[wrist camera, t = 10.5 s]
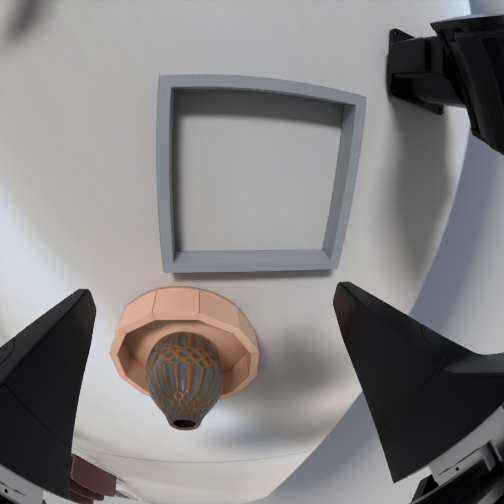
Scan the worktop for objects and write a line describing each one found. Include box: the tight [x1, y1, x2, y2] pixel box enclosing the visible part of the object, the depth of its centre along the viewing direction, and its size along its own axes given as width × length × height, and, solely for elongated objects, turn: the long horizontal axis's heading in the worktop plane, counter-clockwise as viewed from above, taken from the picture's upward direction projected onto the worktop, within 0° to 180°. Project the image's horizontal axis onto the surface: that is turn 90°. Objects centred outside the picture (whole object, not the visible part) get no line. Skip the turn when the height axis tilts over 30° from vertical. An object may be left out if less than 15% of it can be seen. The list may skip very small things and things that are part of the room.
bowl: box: [110, 286, 259, 400], centre depth 24 cm, size 13×13×3 cm
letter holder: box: [69, 454, 116, 504], centre depth 40 cm, size 10×20×14 cm, turn 12°
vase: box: [145, 331, 224, 430], centre depth 21 cm, size 7×7×9 cm
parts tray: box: [156, 74, 367, 273], centre depth 18 cm, size 14×14×2 cm
